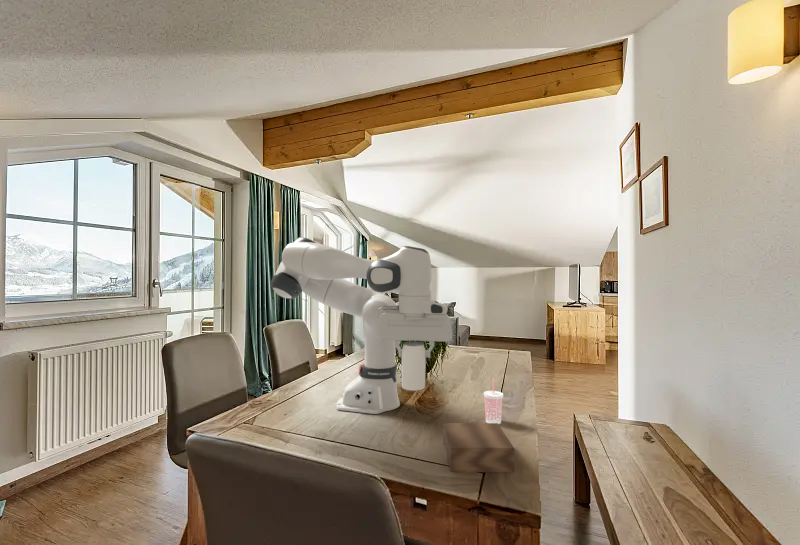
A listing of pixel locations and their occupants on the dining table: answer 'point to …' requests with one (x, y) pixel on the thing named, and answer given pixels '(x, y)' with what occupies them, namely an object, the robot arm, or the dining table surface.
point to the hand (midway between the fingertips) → (414, 357)
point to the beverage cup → (493, 405)
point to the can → (413, 366)
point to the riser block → (477, 448)
